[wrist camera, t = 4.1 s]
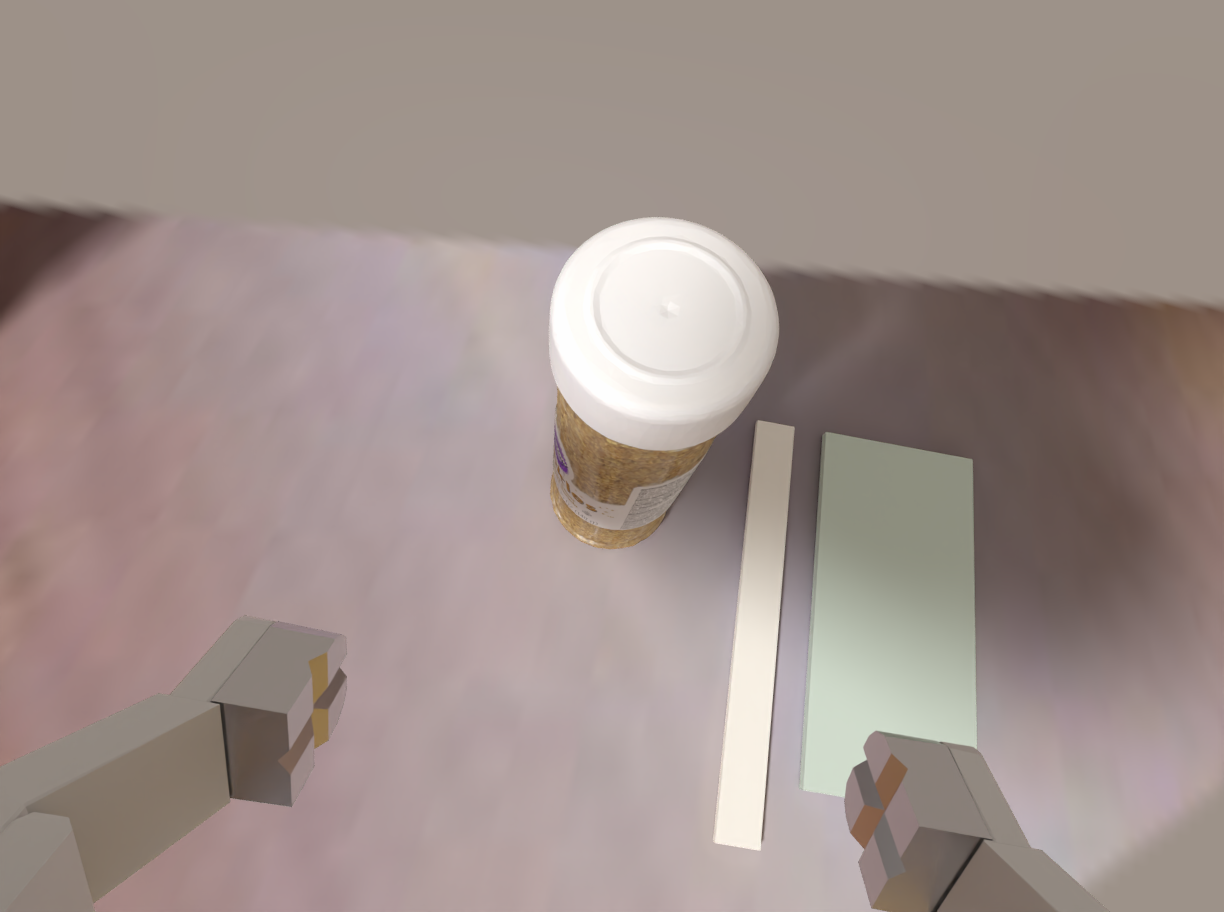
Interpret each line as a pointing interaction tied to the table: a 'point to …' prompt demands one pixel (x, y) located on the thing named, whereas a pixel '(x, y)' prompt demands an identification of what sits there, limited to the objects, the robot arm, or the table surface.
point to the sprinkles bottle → (649, 368)
